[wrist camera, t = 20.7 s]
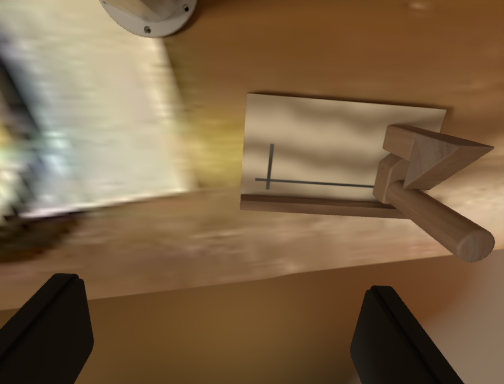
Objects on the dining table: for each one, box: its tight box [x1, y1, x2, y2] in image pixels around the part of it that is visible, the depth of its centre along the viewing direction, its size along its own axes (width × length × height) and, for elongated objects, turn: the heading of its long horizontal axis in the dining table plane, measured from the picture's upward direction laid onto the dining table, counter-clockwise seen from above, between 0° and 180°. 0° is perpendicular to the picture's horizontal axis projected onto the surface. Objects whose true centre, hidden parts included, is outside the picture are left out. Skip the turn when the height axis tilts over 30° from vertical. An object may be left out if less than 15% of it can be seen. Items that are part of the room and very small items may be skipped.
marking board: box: [240, 93, 447, 219], centre depth 41 cm, size 16×28×4 cm, turn 85°
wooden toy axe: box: [372, 125, 495, 262], centre depth 33 cm, size 4×11×18 cm, turn 177°
